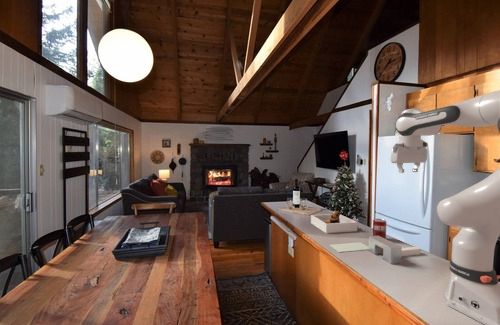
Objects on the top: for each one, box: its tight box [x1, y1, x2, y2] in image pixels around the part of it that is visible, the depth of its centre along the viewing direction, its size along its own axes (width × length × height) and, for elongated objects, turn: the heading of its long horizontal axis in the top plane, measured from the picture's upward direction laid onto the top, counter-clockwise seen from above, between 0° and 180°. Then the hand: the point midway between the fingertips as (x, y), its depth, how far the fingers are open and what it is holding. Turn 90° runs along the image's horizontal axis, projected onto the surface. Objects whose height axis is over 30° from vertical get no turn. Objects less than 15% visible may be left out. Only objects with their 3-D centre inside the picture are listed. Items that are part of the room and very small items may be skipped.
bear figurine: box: [325, 210, 341, 224], centre depth 176 cm, size 14×15×12 cm
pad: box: [329, 241, 369, 253], centre depth 140 cm, size 10×20×1 cm, turn 101°
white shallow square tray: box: [310, 213, 359, 234], centre depth 177 cm, size 23×23×6 cm
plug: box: [401, 246, 422, 257], centre depth 130 cm, size 4×17×4 cm, turn 101°
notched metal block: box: [367, 235, 403, 265], centre depth 128 cm, size 16×6×8 cm, turn 11°
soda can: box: [372, 218, 387, 239], centre depth 152 cm, size 7×7×12 cm
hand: (408, 172), depth 119 cm, fingers open, 8 cm apart
